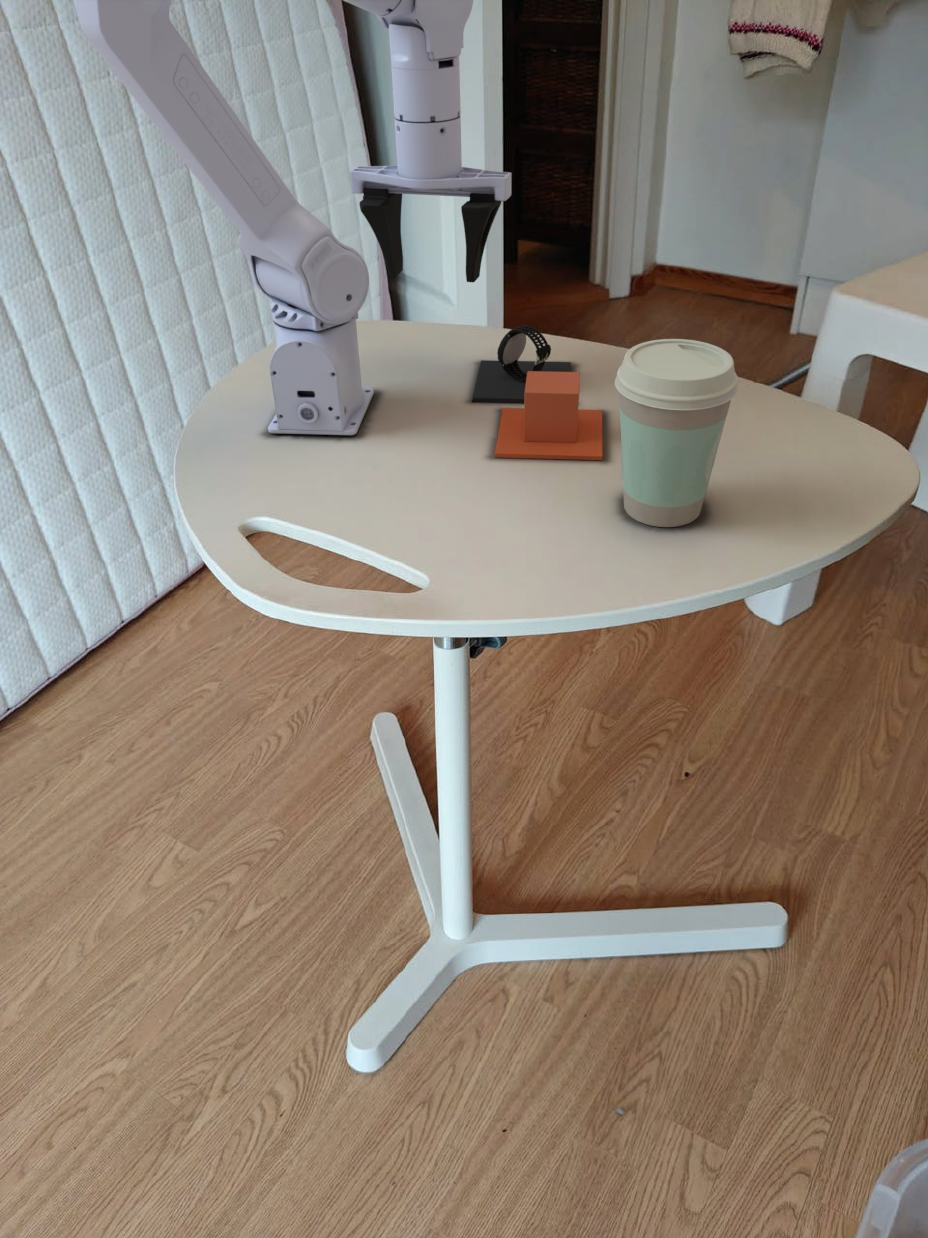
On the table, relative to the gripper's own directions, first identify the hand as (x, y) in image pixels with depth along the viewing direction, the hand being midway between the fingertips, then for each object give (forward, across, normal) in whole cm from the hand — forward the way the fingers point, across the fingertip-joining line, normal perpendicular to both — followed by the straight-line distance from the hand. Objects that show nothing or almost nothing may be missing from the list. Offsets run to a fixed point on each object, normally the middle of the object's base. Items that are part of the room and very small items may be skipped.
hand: (434, 276), depth 92 cm
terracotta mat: (+9, -14, +12) cm, 20 cm away
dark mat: (+9, -9, +1) cm, 13 cm away
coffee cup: (+9, -25, +22) cm, 35 cm away
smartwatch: (+9, -9, +2) cm, 13 cm away
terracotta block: (+9, -14, +12) cm, 20 cm away
